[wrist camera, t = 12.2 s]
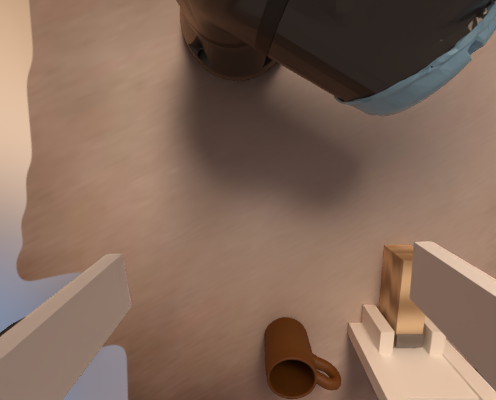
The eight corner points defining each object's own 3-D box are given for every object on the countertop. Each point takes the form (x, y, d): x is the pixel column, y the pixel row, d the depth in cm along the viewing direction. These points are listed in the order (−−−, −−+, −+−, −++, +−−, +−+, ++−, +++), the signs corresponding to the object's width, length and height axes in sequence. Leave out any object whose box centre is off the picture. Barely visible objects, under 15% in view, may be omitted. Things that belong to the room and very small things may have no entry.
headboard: (349, 304, 47) (395, 385, 32) (432, 303, 47) (520, 385, 31) (347, 334, 49) (391, 426, 33) (428, 334, 48) (510, 427, 33)
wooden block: (384, 245, 45) (405, 262, 39) (409, 244, 45) (434, 261, 39) (377, 320, 48) (395, 347, 42) (400, 320, 48) (422, 347, 42)
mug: (336, 328, 49) (354, 372, 39) (321, 363, 50) (336, 413, 41) (271, 310, 48) (275, 351, 39) (258, 346, 50) (259, 392, 41)
